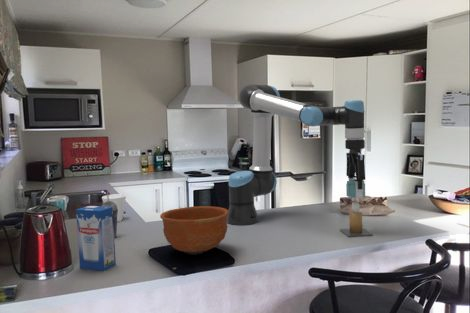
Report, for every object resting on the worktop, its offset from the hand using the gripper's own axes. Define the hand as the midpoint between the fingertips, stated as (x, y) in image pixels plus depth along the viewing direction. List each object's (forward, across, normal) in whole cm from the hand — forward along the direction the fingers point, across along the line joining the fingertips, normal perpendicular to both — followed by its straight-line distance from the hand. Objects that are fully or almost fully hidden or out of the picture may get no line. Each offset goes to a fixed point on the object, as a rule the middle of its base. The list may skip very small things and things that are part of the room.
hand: (355, 195), depth 163 cm
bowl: (+16, -13, +65) cm, 68 cm away
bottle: (+16, 0, 0) cm, 16 cm away
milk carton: (+16, -22, +98) cm, 102 cm away
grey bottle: (+16, +14, +102) cm, 104 cm away
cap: (0, 0, 0) cm, 0 cm away
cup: (+15, +46, +107) cm, 118 cm away
